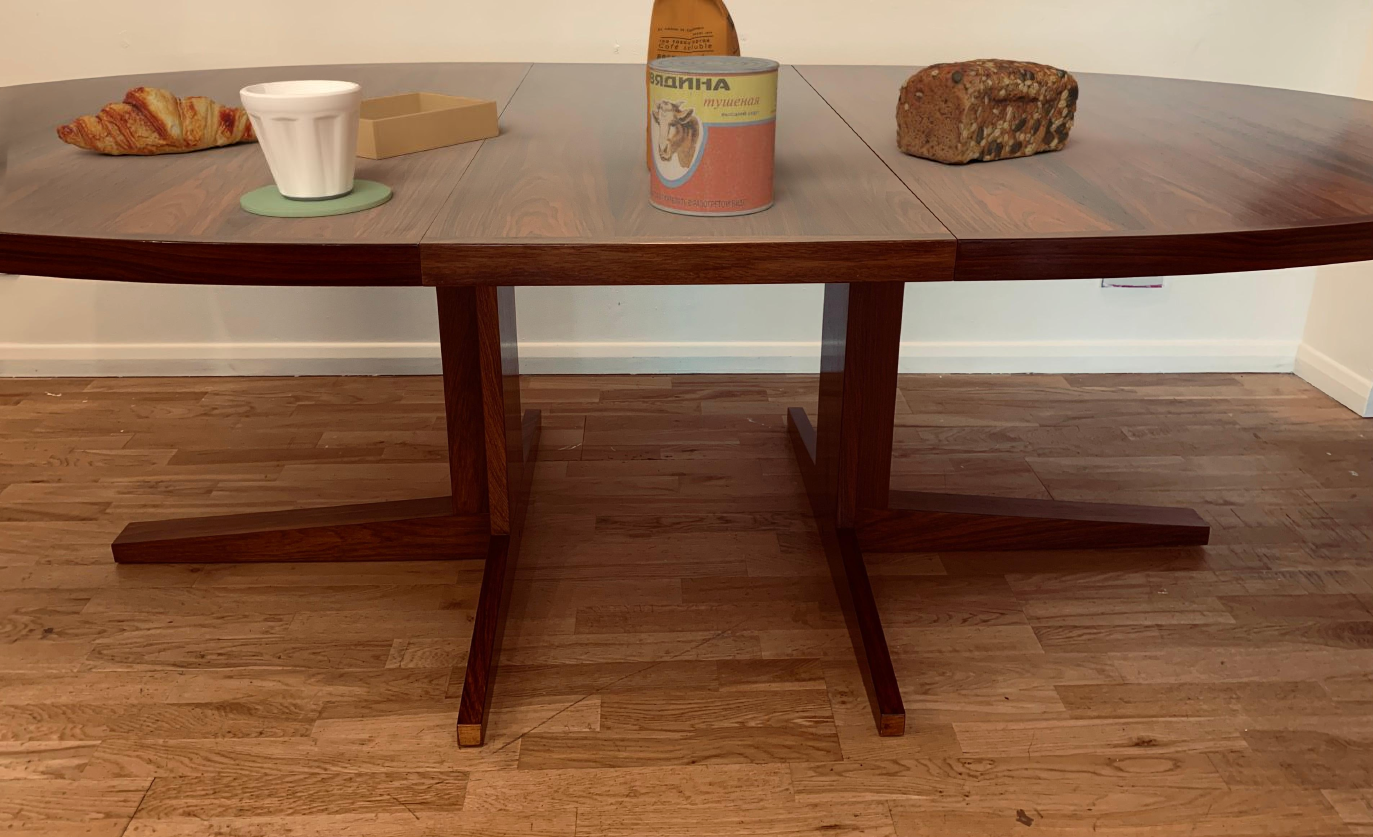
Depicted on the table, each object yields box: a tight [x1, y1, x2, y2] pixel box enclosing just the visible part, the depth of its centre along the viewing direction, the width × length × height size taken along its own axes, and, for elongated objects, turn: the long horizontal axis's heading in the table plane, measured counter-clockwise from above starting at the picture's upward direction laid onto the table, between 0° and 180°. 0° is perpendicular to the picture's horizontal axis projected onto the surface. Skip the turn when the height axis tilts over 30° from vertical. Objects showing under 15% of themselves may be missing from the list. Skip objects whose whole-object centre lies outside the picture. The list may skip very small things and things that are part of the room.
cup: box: [239, 79, 364, 201], centre depth 90 cm, size 10×10×9 cm
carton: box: [356, 91, 500, 161], centre depth 118 cm, size 14×18×4 cm
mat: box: [239, 178, 393, 218], centre depth 92 cm, size 13×13×1 cm
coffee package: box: [645, 0, 742, 170], centre depth 103 cm, size 10×12×22 cm
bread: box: [894, 58, 1080, 165], centre depth 112 cm, size 19×11×10 cm, turn 123°
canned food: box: [648, 56, 780, 217], centre depth 90 cm, size 11×11×12 cm
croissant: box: [55, 86, 258, 156], centre depth 112 cm, size 21×10×8 cm, turn 120°
